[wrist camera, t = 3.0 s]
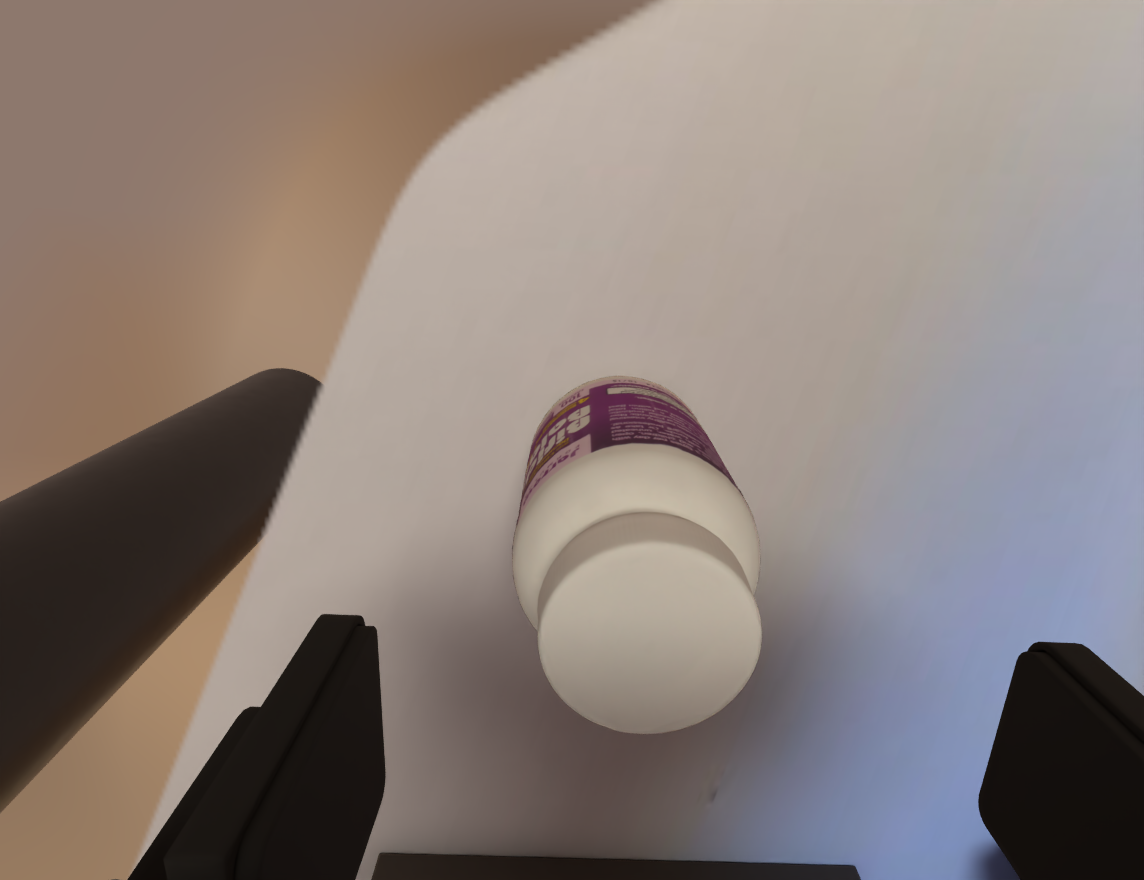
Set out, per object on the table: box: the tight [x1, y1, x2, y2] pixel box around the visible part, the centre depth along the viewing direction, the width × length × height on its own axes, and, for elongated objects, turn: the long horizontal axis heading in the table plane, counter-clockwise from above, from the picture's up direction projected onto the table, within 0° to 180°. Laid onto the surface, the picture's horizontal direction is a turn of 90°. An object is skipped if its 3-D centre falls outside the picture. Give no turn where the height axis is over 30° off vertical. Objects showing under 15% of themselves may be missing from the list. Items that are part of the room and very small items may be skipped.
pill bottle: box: [512, 376, 762, 734], centre depth 17 cm, size 5×5×10 cm
